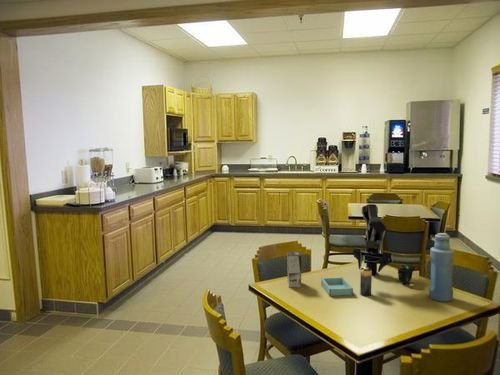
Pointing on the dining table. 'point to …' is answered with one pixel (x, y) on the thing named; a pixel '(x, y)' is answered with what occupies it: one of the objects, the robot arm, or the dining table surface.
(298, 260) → the coffee box
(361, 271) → the cylinder
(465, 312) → the dining table surface
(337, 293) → the tray
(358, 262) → the robot arm
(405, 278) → the controller
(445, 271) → the bottle
